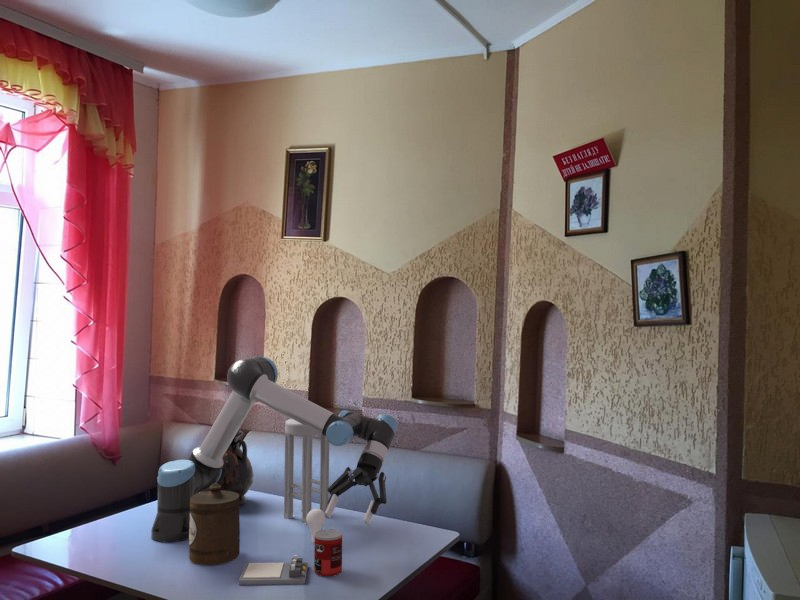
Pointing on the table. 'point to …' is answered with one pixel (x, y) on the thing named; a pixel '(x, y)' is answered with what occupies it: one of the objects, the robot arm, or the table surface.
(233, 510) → the wooden container
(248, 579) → the breaker board
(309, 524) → the lightbulb
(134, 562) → the table surface
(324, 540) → the canned food
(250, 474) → the amphora vase
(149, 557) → the table surface
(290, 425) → the stool
